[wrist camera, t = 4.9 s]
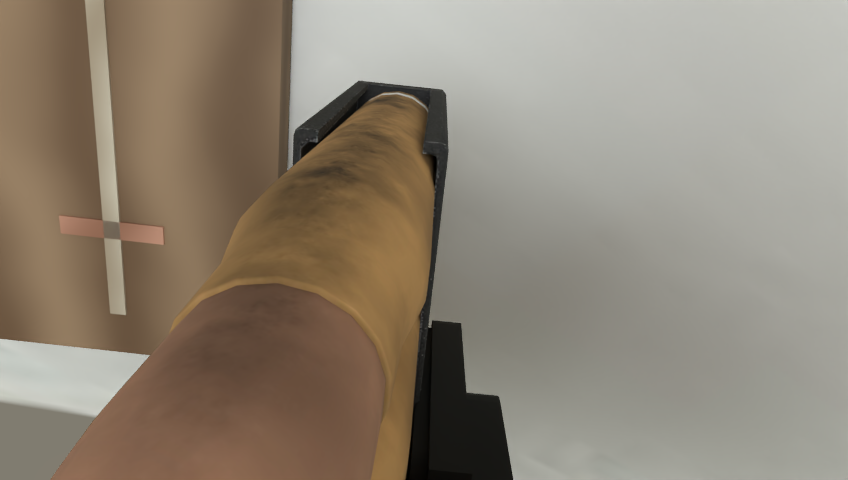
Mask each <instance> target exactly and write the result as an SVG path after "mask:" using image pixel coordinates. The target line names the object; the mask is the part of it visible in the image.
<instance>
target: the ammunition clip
mask: <svg viewBox="0 0 848 480" xmlns="http://www.w3.org/2000/svg"><path fill="white" fill-rule="evenodd" d="M447 160H448V130H447V106H446V94H445V92H444V91H443V90H440V89H431V88H422V87H412V86H403V85H393V84H384V83H375V82H365V81H358V82H357V83H355V84H354V85H353V86H352V87H350V88H349V89H348V90H346V91H345V92H344V93H342V94H341V95H340V96H339V97H337V98H336V99H335V100H333V101H332V102H331V103H329V104H328V105H327V106H326V107H324V108H323V109H322V110H320V111H319V112H318V113H316V114H315V115H314V116H313V117H311V118H310V119H309V120H307V121H306V122H305V123H303V124H302V125H301V126H300V127H298V128H297V129H296V130H295V133H294V142H293V167H291V168H290V169H289V170H288V171H287V172H286V173H285V174H283V175H282V176H281V177H280V178H279V179H278V180H276V181H275V182H274V183H273V184H272V185H271V186H270V187H269V188H268V189H267V190H266V191H265V192H264V193H263V194H262V195H261V196H260V197H259V198H258V199H257V200H256V201H255V202H254V203H253V204H252V206H251V207H250V208H249V209H248V210H247V211H246V212H245V213H244V214H243V215H242V217H241V218H240V219H239V221H238V223H237V225H236V227H235V229H234V232H233V234H232V237H231V239H230V242H229V244H228V247H227V249H226V251H225V254H224V256H223V259H222V261H221V264H220V265H219V266H218V267H217V269H216V270H215V271H214V272H213V273H212V275H211V276H210V277H209V278H208V279H207V281H206V282H205V283H204V284H203V285H202V287H201V288H200V289H199V290H198V291H197V293H196V294H195V295H194V296H193V297H192V299H191V300H190V301H189V302H188V303H187V305H186V306H185V307H184V308H183V309H182V311H181V312H180V313H179V314H178V315H177V317H176V318H175V319H174V321H173V324H172V327H171V329H170V332H169V335H168V336H167V337H166V338H165V339H164V341H163V342H162V343H161V344H160V345H159V346H158V347H157V348H156V349H155V351H154V352H153V353H152V354H151V355H150V356H149V357H148V358H147V360H146V361H145V362H144V363H143V364H142V365H141V366H140V367H139V369H138V370H137V371H136V372H135V373H134V374H133V375H132V376H131V378H130V379H129V380H128V381H127V382H126V383H125V384H124V385H123V387H122V388H121V389H120V390H119V391H118V392H117V394H116V395H115V396H114V397H113V398H112V399H111V401H110V402H109V403H108V404H107V405H106V406H105V407H104V409H103V410H102V411H101V412H100V413H99V414H98V416H97V417H96V418H95V419H94V420H93V422H92V423H91V424H90V426H89V427H88V429H87V430H86V431H85V433H84V434H83V435H82V437H81V438H80V439H79V441H78V442H77V443H76V445H75V446H74V448H73V449H72V450H71V452H70V453H69V454H68V456H67V457H66V458H65V460H64V461H63V462H62V464H61V465H60V467H59V468H58V470H57V471H56V472H55V474H54V475H53V477H52V478H51V480H407V476H408V467H409V458H410V449H411V440H412V431H413V422H414V413H415V404H416V403H418V402H419V400H420V392H421V383H422V375H423V366H424V357H425V349H426V340H427V332H428V323H429V314H430V306H431V297H432V289H433V280H434V271H435V263H436V254H437V246H438V237H439V228H440V220H441V211H442V203H443V194H444V185H445V177H446V168H447Z"/></svg>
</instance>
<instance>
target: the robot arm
mask: <svg viewBox="0 0 848 480" xmlns="http://www.w3.org/2000/svg"><path fill="white" fill-rule="evenodd" d="M407 480H513V476H512V470H511V464H510V458H509V452H508V446H507V440H506V434H505V428H504V422H503V416H502V410H501V404H500V400H499V397H498V396H494V395H484V394H474V393H466V383H465V369H464V356H463V343H462V329H461V323H453V322H443V321H433V320H432V326H431V328H428V332H427V340H426V349H425V357H424V366H423V375H422V383H421V392H420V400H419V402H418V403H416V404H415V413H414V422H413V431H412V440H411V449H410V458H409V467H408V476H407Z"/></svg>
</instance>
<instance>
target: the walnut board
mask: <svg viewBox="0 0 848 480" xmlns="http://www.w3.org/2000/svg"><path fill="white" fill-rule="evenodd" d="M291 32H292V0H0V339H8V340H18V341H27V342H36V343H45V344H54V345H63V346H72V347H82V348H91V349H100V350H109V351H118V352H127V353H136V354H146V355H151V354H152V353H153V352H154V351H155V349H156V348H157V347H158V346H159V345H160V344H161V343H162V342H163V341H164V339H165V338H166V337H167V336H168V335H169V332H170V329H171V327H172V324H173V321H174V319H175V318H176V317H177V315H178V314H179V313H180V312H181V311H182V309H183V308H184V307H185V306H186V305H187V303H188V302H189V301H190V300H191V299H192V297H193V296H194V295H195V294H196V293H197V291H198V290H199V289H200V288H201V287H202V285H203V284H204V283H205V282H206V281H207V279H208V278H209V277H210V276H211V275H212V273H213V272H214V271H215V270H216V269H217V267H218V266H219V265H220V264H221V261H222V259H223V256H224V254H225V251H226V249H227V247H228V244H229V242H230V239H231V237H232V234H233V232H234V229H235V227H236V225H237V223H238V221H239V219H240V218H241V217H242V215H243V214H244V213H245V212H246V211H247V210H248V209H249V208H250V207H251V206H252V204H253V203H254V202H255V201H256V200H257V199H258V198H259V197H260V196H261V195H262V194H263V193H264V192H265V191H266V190H267V189H268V188H269V187H270V186H271V185H272V184H273V183H274V182H275V181H276V180H278V179H279V178H280V177H281V176H282V175H283V174H285V173H286V172H287V158H288V127H289V95H290V63H291Z"/></svg>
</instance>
